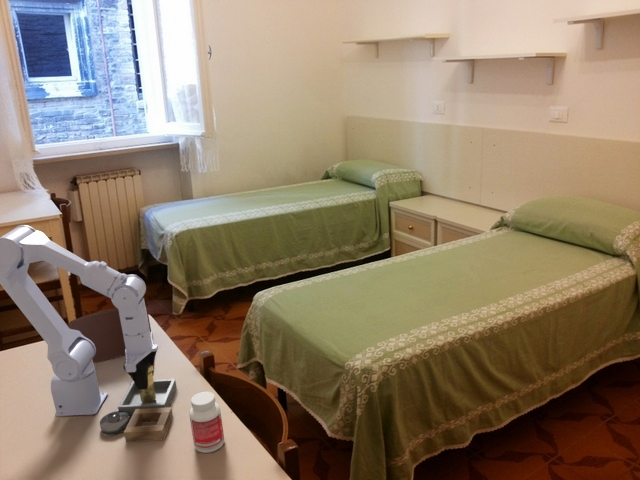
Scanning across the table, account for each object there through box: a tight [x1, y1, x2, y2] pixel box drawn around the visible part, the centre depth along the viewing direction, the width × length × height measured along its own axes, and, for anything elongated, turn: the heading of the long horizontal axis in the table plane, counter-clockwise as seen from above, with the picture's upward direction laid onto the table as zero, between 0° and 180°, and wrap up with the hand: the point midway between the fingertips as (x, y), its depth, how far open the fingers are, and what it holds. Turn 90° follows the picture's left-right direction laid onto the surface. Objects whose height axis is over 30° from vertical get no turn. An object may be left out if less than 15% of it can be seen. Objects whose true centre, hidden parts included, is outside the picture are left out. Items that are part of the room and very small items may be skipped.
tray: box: [117, 378, 177, 418], centre depth 132 cm, size 10×10×3 cm
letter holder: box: [68, 305, 152, 364], centre depth 155 cm, size 10×20×14 cm, turn 113°
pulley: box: [99, 410, 130, 436], centre depth 124 cm, size 6×6×3 cm
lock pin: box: [139, 364, 156, 403], centre depth 130 cm, size 4×4×8 cm
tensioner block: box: [123, 406, 174, 443], centre depth 122 cm, size 8×8×2 cm
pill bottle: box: [188, 391, 225, 454], centre depth 115 cm, size 6×6×11 cm
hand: (145, 382), depth 130 cm, fingers closed on lock pin, 4 cm apart
